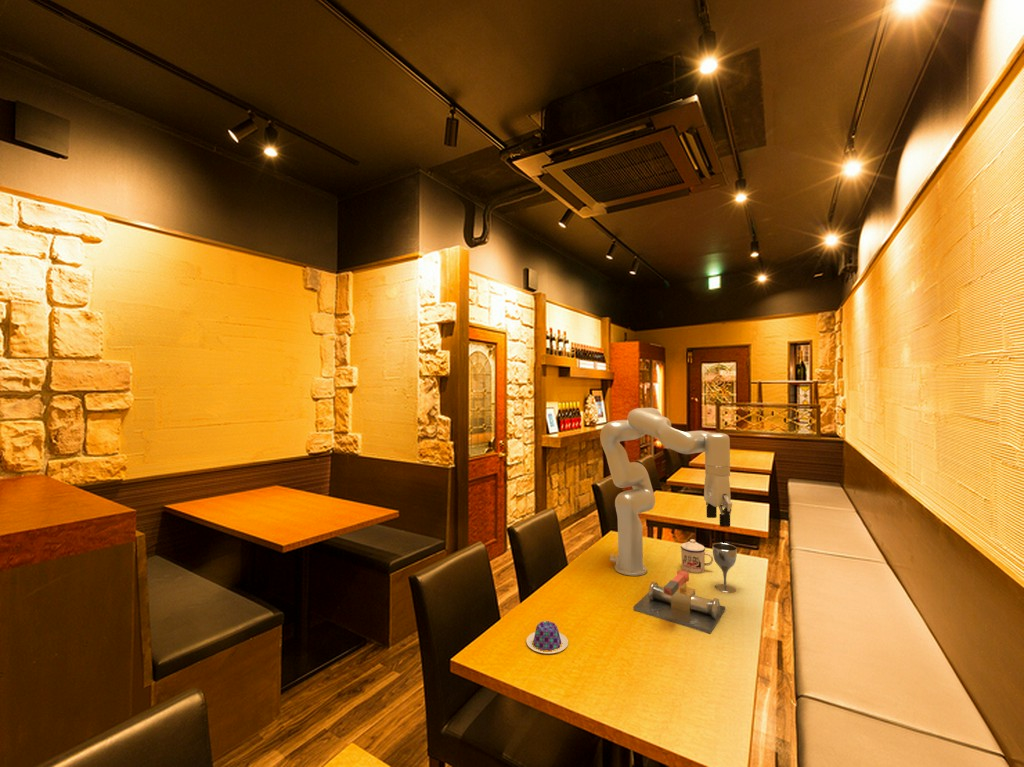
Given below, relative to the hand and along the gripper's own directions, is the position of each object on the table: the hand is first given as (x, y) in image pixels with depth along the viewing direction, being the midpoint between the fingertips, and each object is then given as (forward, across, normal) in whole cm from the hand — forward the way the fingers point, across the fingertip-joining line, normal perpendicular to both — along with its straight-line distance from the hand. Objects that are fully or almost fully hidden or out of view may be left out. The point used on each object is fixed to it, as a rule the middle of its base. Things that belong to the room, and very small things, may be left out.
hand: (718, 521), depth 149 cm
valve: (+28, +2, -14) cm, 31 cm away
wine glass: (+28, -14, +9) cm, 33 cm away
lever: (+18, +6, -16) cm, 25 cm away
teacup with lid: (+29, -31, +5) cm, 42 cm away
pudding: (+29, +20, -58) cm, 68 cm away
